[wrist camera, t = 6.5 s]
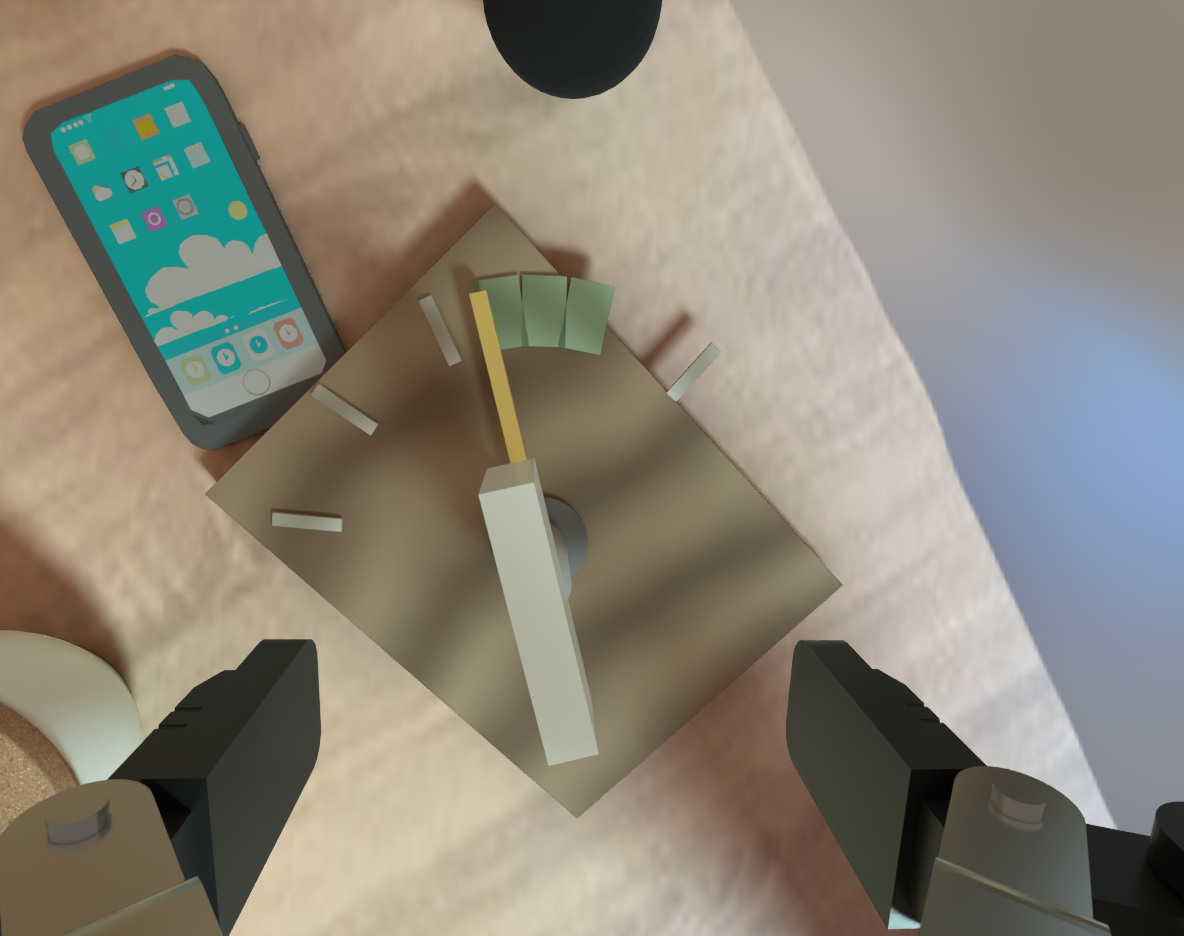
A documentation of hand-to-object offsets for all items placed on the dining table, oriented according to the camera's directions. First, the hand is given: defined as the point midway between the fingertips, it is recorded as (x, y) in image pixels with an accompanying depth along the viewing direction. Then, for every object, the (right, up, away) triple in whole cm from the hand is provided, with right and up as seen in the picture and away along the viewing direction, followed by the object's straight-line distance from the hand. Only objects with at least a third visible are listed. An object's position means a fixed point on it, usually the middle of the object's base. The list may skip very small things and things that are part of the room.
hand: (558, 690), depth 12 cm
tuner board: (-1, +2, +22) cm, 22 cm away
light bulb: (-1, +21, +18) cm, 28 cm away
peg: (-2, +3, +19) cm, 20 cm away
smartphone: (-16, +13, +19) cm, 28 cm away
